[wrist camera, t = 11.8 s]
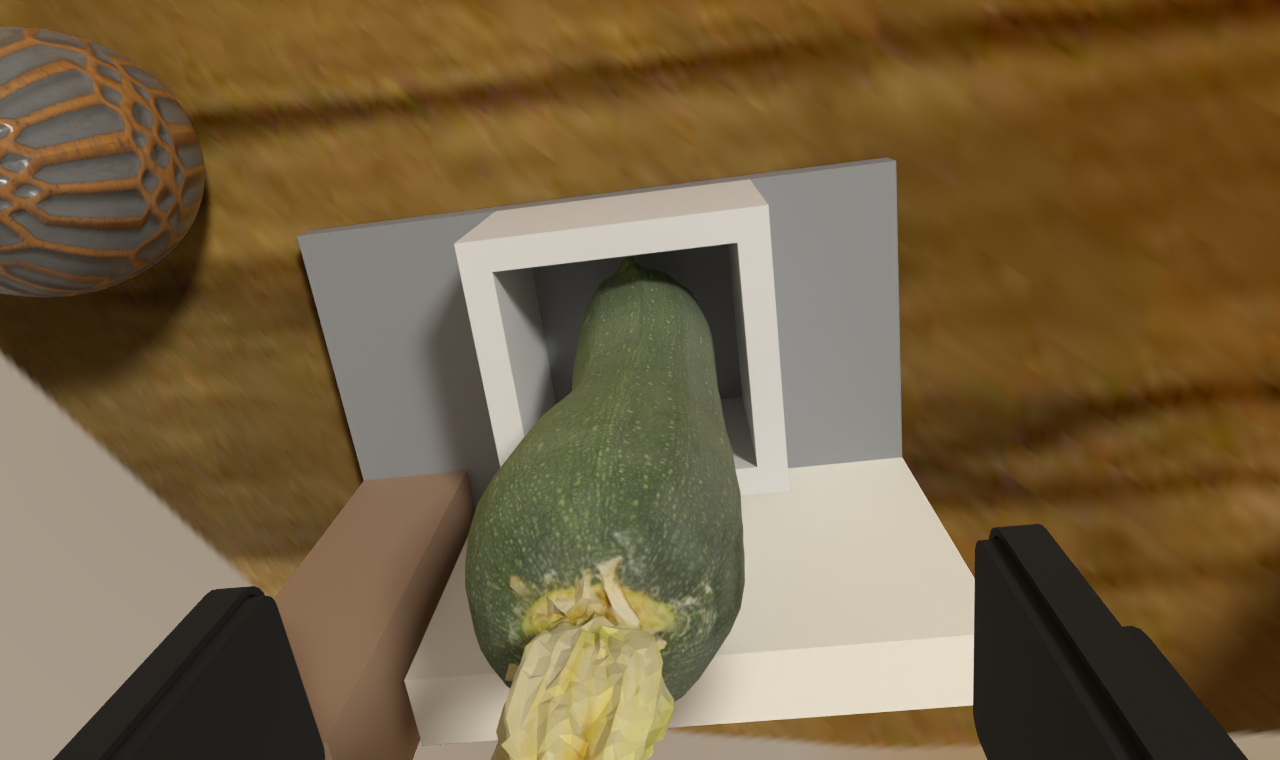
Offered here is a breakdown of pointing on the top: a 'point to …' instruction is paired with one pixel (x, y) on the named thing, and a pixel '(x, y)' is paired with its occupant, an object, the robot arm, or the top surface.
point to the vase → (88, 166)
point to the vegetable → (612, 535)
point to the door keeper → (542, 376)
